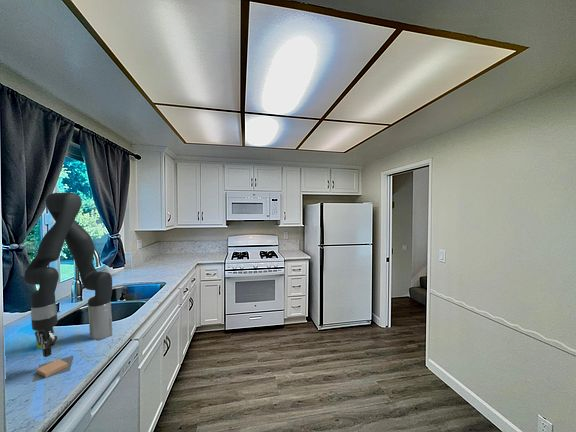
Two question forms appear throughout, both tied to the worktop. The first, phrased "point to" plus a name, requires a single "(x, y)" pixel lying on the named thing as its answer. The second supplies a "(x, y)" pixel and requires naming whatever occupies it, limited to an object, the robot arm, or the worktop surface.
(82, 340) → the worktop surface
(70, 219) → the robot arm
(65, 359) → the mat
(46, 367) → the tile
